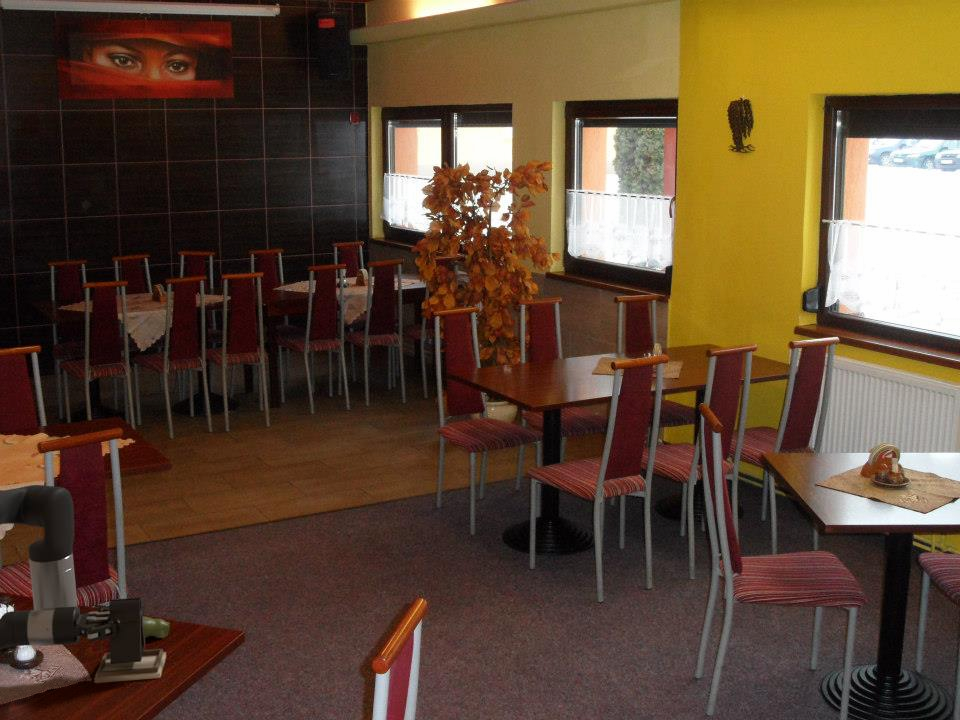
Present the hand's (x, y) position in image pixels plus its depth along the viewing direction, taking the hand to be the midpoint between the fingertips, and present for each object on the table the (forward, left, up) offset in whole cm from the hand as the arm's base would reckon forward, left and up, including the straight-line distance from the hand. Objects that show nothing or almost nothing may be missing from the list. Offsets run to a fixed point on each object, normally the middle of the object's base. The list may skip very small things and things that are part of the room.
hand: (141, 621), depth 234 cm
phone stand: (0, -3, -7) cm, 8 cm away
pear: (-16, -2, -11) cm, 19 cm away
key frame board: (0, -3, -11) cm, 11 cm away
